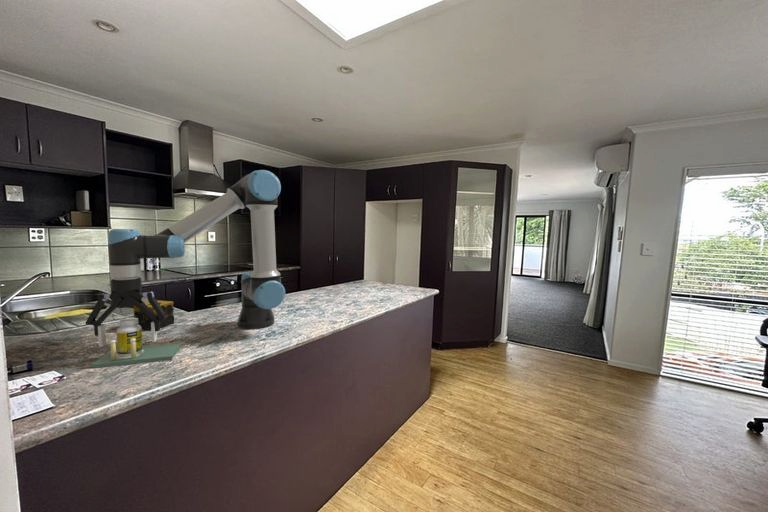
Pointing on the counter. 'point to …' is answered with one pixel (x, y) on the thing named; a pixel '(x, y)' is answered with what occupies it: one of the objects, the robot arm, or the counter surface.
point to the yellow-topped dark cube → (166, 306)
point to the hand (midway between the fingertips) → (129, 343)
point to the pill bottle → (128, 336)
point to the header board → (144, 356)
